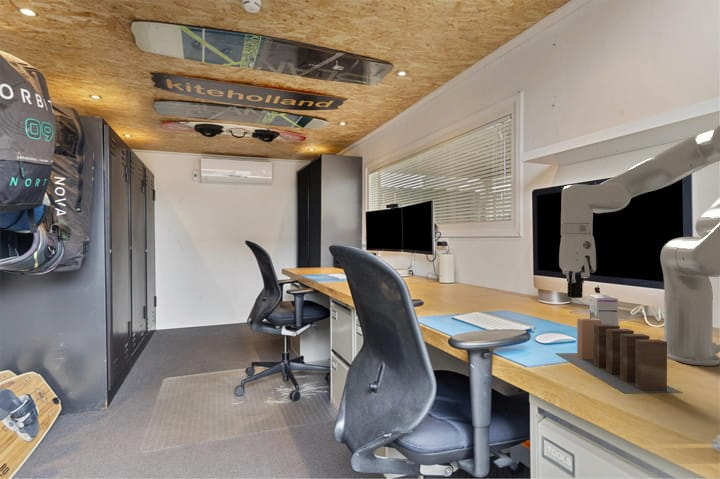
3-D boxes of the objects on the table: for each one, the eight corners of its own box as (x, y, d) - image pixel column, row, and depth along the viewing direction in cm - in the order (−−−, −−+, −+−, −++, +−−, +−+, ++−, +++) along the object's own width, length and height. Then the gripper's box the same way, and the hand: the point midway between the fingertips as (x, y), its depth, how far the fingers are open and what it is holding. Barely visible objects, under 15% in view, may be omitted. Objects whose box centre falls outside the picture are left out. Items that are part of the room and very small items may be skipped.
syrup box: (619, 349, 106) (619, 297, 106) (596, 347, 108) (596, 297, 107) (610, 343, 112) (610, 294, 112) (588, 342, 113) (588, 294, 113)
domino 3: (606, 371, 87) (606, 328, 87) (627, 371, 88) (627, 328, 87) (612, 374, 85) (612, 331, 85) (633, 374, 86) (633, 330, 85)
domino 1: (601, 358, 97) (601, 320, 96) (582, 359, 96) (582, 320, 96) (596, 356, 99) (596, 318, 98) (577, 356, 98) (577, 318, 98)
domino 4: (619, 379, 83) (620, 333, 83) (642, 378, 83) (642, 333, 83) (626, 382, 81) (626, 336, 81) (649, 382, 81) (649, 336, 81)
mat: (598, 354, 102) (598, 352, 102) (683, 394, 76) (683, 392, 76) (554, 354, 101) (554, 353, 101) (624, 395, 75) (624, 393, 75)
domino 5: (635, 387, 78) (635, 339, 78) (658, 387, 79) (659, 339, 78) (642, 391, 76) (642, 342, 76) (666, 390, 77) (667, 342, 76)
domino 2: (593, 365, 92) (593, 324, 92) (613, 364, 92) (613, 324, 92) (599, 368, 90) (599, 326, 90) (619, 367, 90) (619, 326, 90)
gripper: (608, 230, 95) (606, 302, 96) (573, 230, 110) (572, 293, 111) (579, 229, 95) (577, 302, 95) (548, 230, 110) (547, 293, 110)
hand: (574, 297), depth 103 cm, fingers closed
